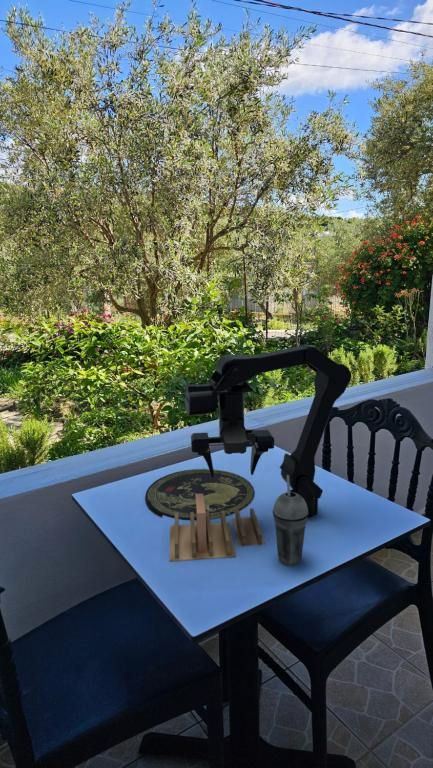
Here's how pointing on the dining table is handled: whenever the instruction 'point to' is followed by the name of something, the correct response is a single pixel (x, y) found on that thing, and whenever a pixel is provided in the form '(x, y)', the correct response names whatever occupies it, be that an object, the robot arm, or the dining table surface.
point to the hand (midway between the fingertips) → (232, 475)
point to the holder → (247, 529)
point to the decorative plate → (182, 486)
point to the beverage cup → (290, 526)
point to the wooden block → (201, 522)
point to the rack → (187, 544)
